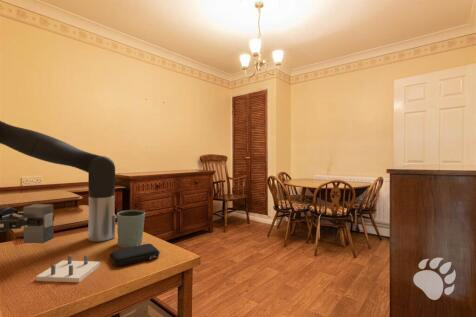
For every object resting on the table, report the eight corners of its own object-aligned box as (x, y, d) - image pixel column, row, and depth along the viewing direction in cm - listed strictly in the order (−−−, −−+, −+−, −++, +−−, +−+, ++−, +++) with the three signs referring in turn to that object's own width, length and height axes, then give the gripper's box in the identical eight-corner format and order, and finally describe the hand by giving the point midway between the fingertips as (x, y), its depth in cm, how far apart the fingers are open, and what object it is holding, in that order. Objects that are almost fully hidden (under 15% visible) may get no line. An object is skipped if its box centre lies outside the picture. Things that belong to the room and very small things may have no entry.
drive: (35, 237, 80) (34, 204, 80) (54, 238, 80) (53, 204, 79) (23, 242, 76) (23, 207, 75) (43, 243, 76) (43, 207, 75)
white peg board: (62, 264, 78) (62, 252, 78) (100, 265, 78) (100, 253, 78) (35, 280, 68) (35, 267, 68) (79, 282, 68) (79, 269, 68)
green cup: (117, 240, 99) (117, 210, 99) (144, 237, 103) (144, 209, 103) (115, 250, 90) (116, 217, 89) (145, 246, 94) (145, 215, 93)
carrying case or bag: (115, 271, 75) (162, 259, 84) (115, 261, 75) (163, 250, 84) (107, 259, 83) (151, 249, 92) (108, 250, 83) (152, 241, 92)
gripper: (-32, 212, 71) (27, 214, 70) (14, 202, 85) (64, 203, 85) (-31, 238, 71) (28, 240, 71) (15, 223, 85) (64, 224, 85)
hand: (47, 220), depth 78 cm, fingers closed on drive, 4 cm apart
